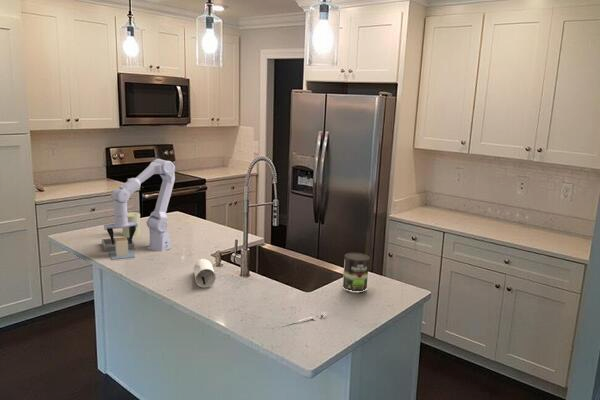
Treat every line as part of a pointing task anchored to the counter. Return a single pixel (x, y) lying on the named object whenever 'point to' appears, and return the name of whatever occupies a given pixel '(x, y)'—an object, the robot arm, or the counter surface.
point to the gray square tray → (110, 248)
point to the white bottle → (204, 273)
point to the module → (121, 246)
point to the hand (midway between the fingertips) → (121, 243)
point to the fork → (311, 317)
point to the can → (132, 218)
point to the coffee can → (355, 271)
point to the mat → (114, 257)
